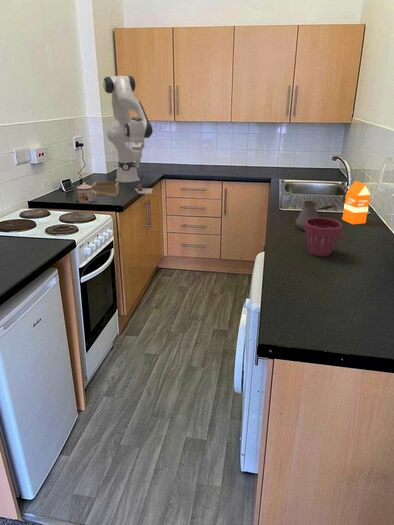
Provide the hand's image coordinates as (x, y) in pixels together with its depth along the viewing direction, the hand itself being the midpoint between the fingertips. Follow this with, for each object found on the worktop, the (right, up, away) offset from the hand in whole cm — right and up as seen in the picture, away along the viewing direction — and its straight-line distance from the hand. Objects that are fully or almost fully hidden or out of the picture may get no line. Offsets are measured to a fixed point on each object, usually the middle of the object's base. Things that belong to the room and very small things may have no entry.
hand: (138, 166), depth 256 cm
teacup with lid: (-27, -27, -21) cm, 44 cm away
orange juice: (+119, -42, -55) cm, 138 cm away
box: (-20, -19, -3) cm, 28 cm away
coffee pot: (+94, -48, -70) cm, 127 cm away
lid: (0, -16, +6) cm, 17 cm away
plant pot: (+89, -59, -96) cm, 143 cm away
